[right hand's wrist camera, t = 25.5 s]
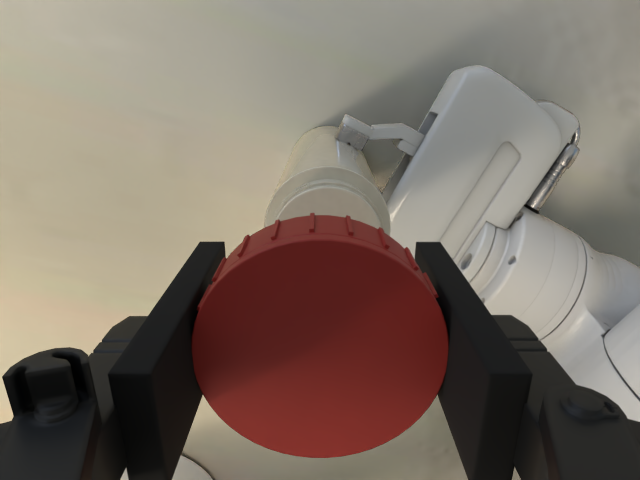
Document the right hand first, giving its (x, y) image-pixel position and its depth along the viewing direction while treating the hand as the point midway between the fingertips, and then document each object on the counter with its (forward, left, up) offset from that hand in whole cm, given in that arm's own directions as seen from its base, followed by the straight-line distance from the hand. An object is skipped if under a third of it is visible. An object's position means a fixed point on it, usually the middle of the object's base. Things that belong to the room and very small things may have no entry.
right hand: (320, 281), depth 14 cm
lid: (0, 0, +4) cm, 4 cm away
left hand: (0, 0, -15) cm, 15 cm away
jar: (0, 0, -21) cm, 21 cm away
